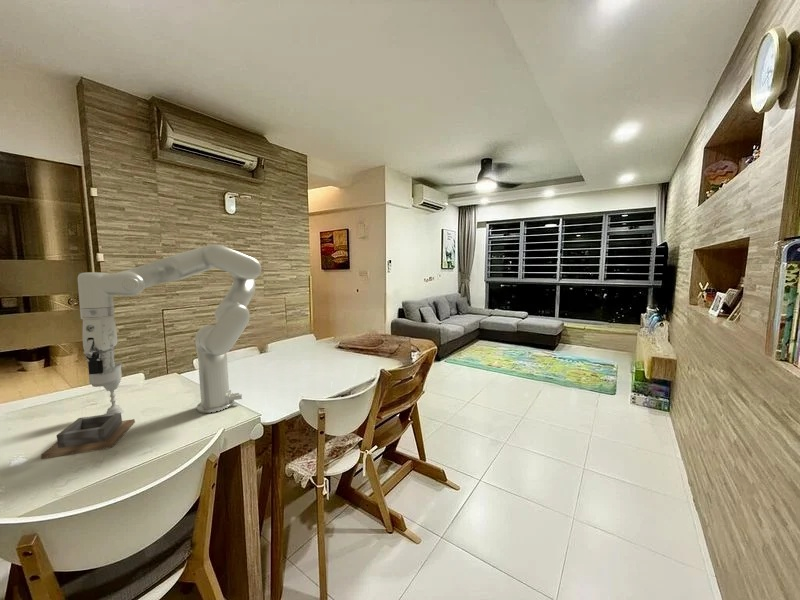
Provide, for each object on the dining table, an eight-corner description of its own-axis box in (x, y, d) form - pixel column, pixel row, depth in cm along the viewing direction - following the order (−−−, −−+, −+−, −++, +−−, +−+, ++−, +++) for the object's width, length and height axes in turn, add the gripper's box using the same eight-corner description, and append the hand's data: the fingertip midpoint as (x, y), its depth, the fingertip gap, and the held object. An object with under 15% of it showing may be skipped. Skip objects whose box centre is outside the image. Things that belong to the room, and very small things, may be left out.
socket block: (134, 422, 111) (133, 408, 110) (111, 447, 96) (110, 431, 95) (75, 430, 105) (73, 415, 104) (41, 458, 90) (38, 441, 90)
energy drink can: (108, 379, 103) (105, 334, 102) (120, 382, 101) (117, 335, 100) (85, 385, 98) (81, 337, 96) (97, 388, 96) (93, 339, 94)
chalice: (111, 418, 113) (105, 369, 111) (96, 416, 115) (90, 368, 112) (132, 409, 120) (127, 363, 118) (117, 407, 122) (112, 362, 120)
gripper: (98, 316, 91) (103, 378, 92) (125, 309, 107) (128, 361, 108) (64, 317, 88) (69, 380, 90) (96, 309, 104) (100, 363, 106)
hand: (102, 369), depth 99 cm, fingers closed on energy drink can, 6 cm apart
